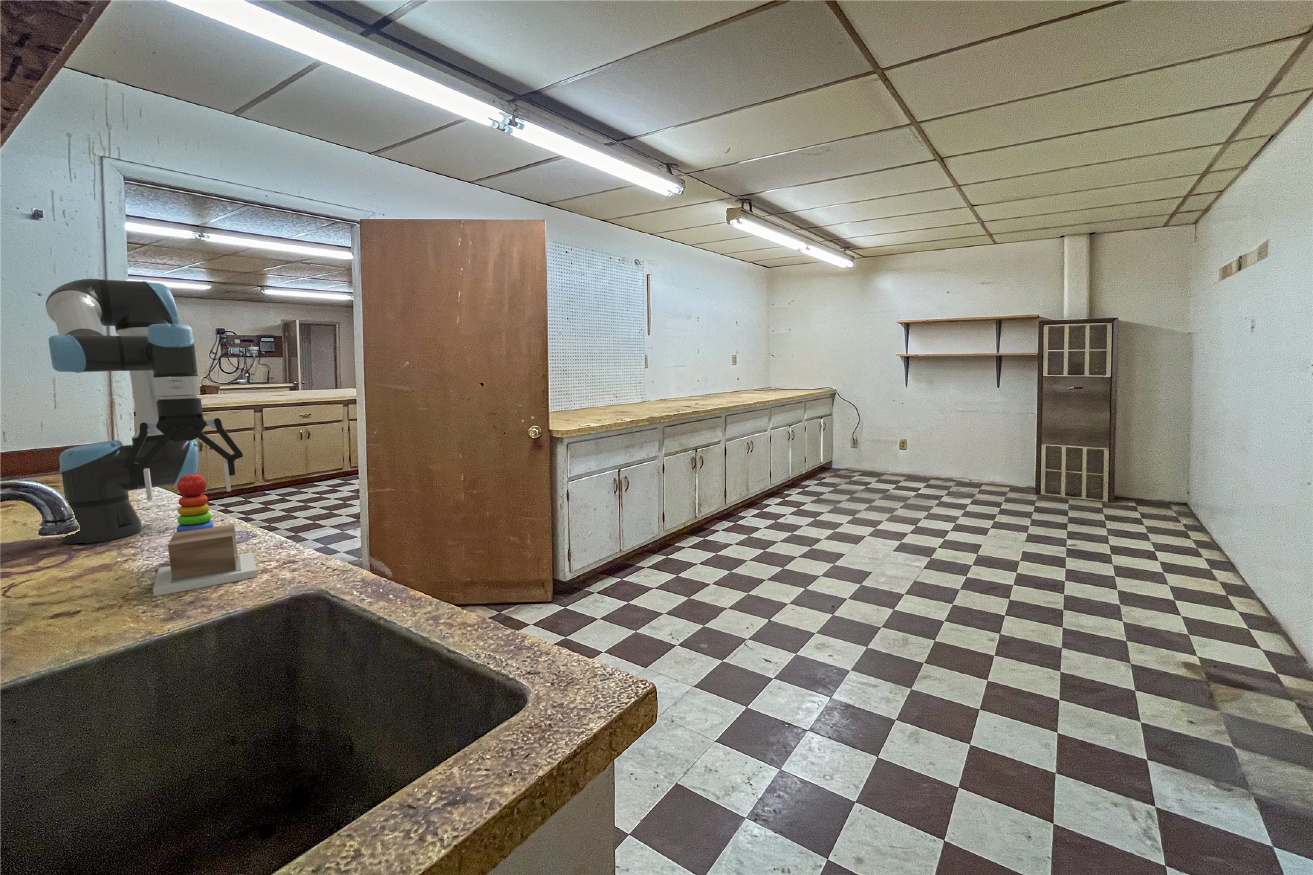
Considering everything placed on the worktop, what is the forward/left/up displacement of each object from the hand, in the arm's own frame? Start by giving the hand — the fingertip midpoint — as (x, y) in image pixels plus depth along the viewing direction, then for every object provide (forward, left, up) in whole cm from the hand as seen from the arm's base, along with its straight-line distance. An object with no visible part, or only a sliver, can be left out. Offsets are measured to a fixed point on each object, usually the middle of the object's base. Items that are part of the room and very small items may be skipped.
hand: (190, 495), depth 131 cm
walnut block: (+16, +2, -13) cm, 20 cm away
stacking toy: (0, 0, -14) cm, 14 cm away
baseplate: (+16, +2, -14) cm, 21 cm away
